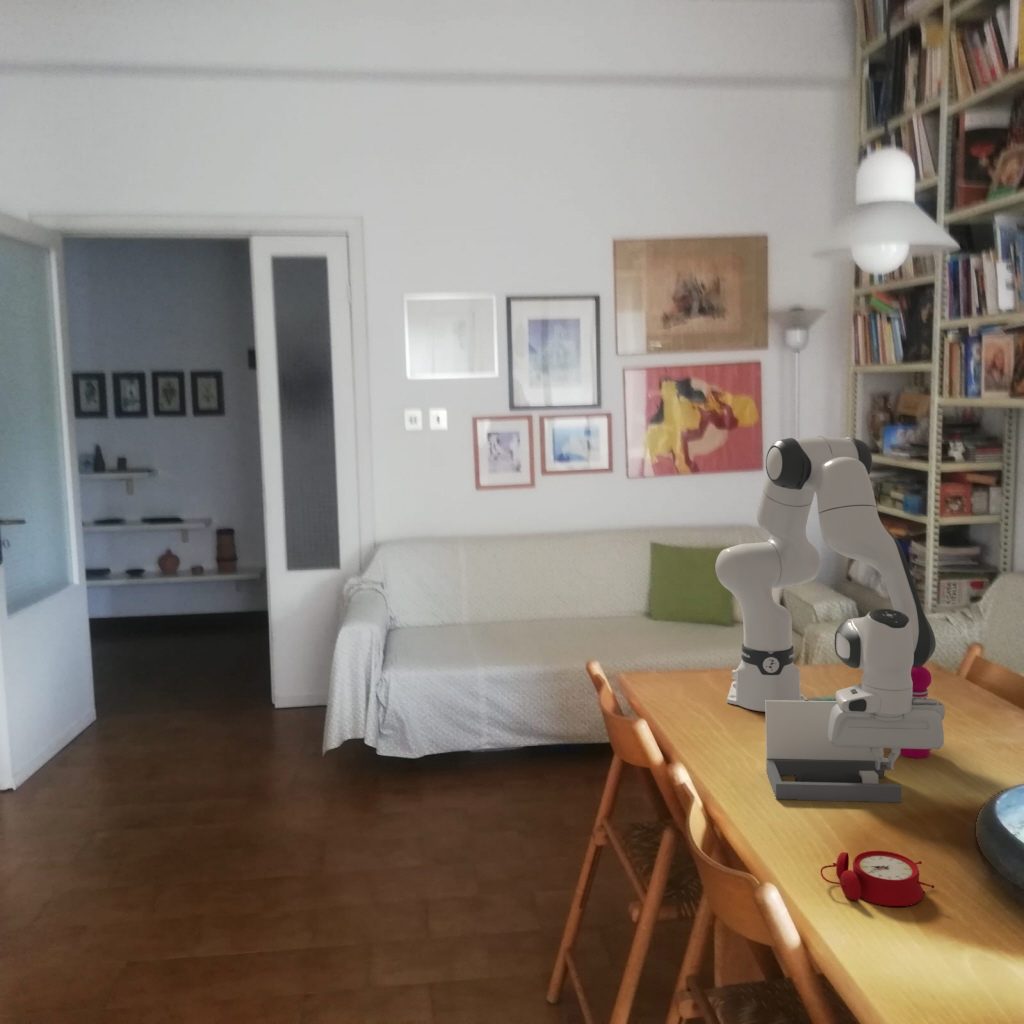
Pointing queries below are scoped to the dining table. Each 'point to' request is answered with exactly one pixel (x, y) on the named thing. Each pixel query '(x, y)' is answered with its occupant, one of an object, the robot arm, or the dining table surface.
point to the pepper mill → (920, 684)
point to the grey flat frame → (827, 789)
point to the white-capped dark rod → (839, 777)
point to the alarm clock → (879, 878)
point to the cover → (805, 733)
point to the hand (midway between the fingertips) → (884, 768)
